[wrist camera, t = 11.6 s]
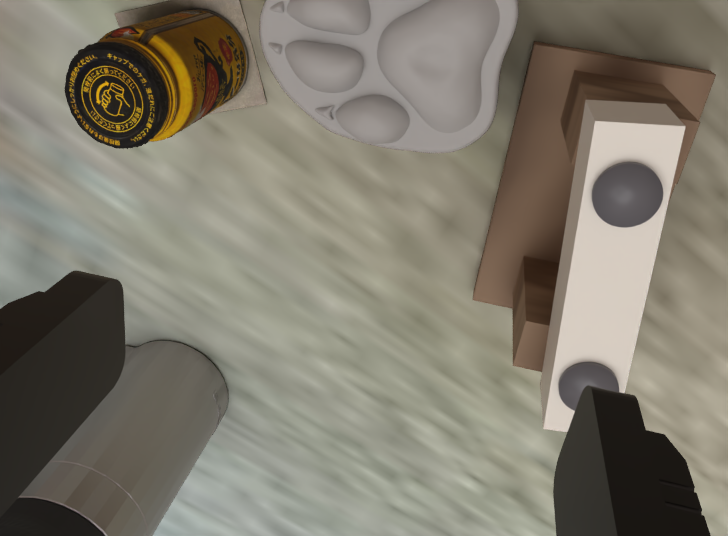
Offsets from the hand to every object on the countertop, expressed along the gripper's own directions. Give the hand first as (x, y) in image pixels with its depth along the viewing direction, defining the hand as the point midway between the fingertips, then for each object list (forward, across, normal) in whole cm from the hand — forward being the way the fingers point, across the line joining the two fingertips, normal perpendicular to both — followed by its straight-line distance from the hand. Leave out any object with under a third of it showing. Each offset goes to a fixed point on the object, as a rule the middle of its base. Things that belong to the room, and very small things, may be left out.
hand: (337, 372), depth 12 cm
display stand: (+33, -9, +7) cm, 35 cm away
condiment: (+33, +17, +3) cm, 38 cm away
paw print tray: (+33, +4, -1) cm, 34 cm away
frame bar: (+24, -9, +7) cm, 26 cm away
